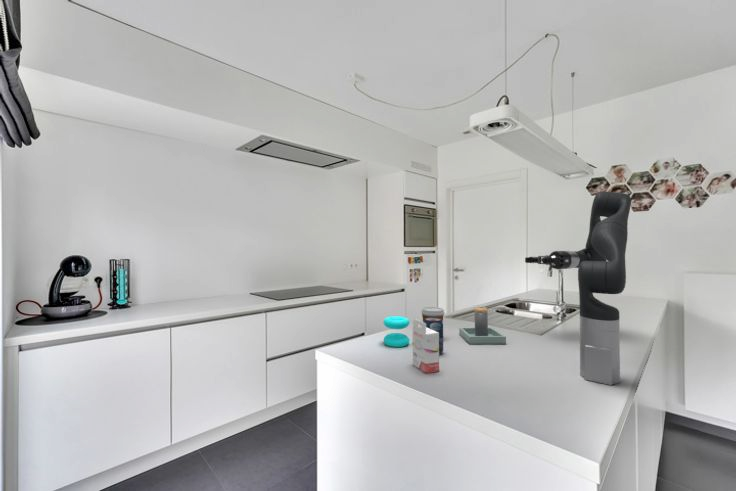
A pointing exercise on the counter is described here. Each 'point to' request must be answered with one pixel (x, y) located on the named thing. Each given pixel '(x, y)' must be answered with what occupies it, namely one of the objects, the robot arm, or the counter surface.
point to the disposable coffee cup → (432, 313)
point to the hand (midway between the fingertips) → (534, 260)
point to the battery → (481, 321)
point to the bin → (482, 337)
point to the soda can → (436, 329)
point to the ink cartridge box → (425, 347)
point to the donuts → (396, 338)
